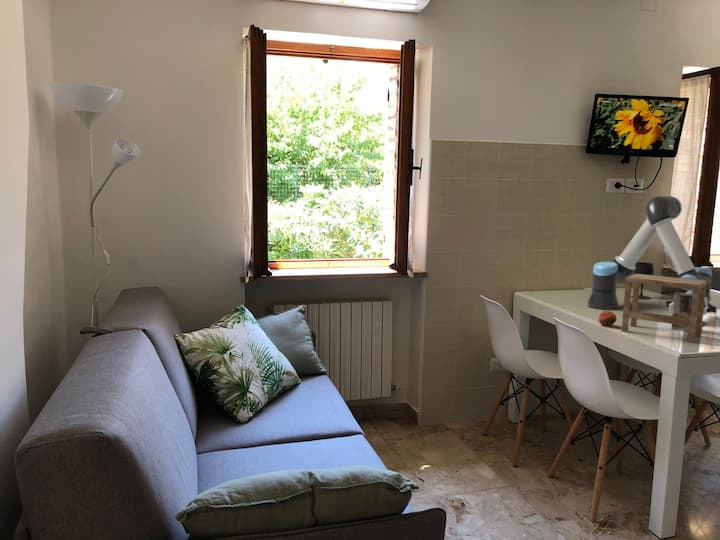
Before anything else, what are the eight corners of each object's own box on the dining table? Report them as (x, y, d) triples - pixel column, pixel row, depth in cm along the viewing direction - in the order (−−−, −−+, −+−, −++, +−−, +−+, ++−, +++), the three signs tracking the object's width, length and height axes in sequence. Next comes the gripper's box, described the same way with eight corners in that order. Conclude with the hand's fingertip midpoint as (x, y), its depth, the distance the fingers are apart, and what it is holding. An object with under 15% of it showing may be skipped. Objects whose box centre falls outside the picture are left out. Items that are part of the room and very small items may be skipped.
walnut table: (631, 325, 265) (635, 273, 261) (701, 335, 247) (706, 280, 243) (621, 331, 254) (625, 277, 250) (693, 342, 236) (699, 285, 232)
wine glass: (653, 299, 325) (656, 264, 322) (633, 299, 327) (636, 264, 324) (648, 296, 335) (651, 262, 332) (629, 295, 337) (631, 261, 334)
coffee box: (694, 329, 258) (698, 294, 256) (694, 332, 253) (697, 296, 251) (671, 326, 263) (675, 291, 261) (670, 329, 258) (674, 294, 255)
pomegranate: (617, 332, 260) (614, 315, 267) (618, 322, 255) (615, 305, 262) (600, 332, 262) (597, 316, 269) (600, 322, 258) (597, 305, 264)
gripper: (726, 314, 266) (718, 322, 249) (666, 306, 281) (655, 313, 265) (727, 298, 264) (720, 305, 248) (667, 291, 280) (657, 297, 264)
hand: (686, 309), depth 257 cm, fingers open, 13 cm apart
